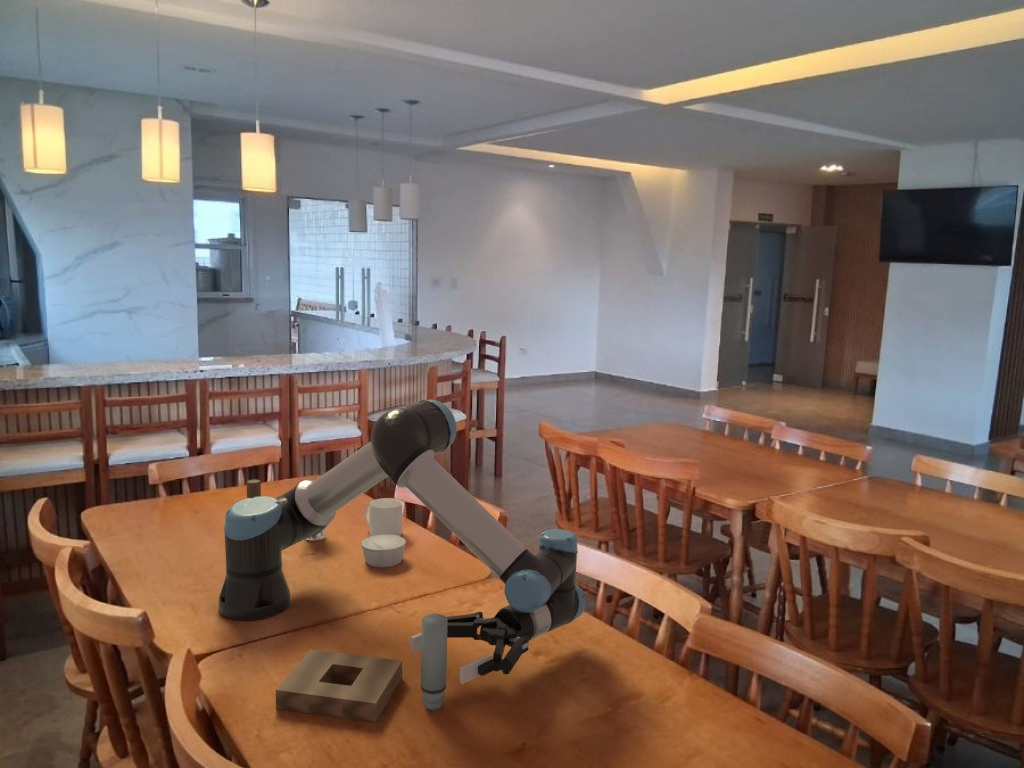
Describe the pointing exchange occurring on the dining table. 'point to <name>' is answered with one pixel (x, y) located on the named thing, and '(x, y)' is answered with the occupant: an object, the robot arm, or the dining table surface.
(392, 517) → the mug
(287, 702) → the board
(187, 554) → the dining table surface
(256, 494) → the wooden block
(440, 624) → the grey rounded cylinder
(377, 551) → the ramekin
